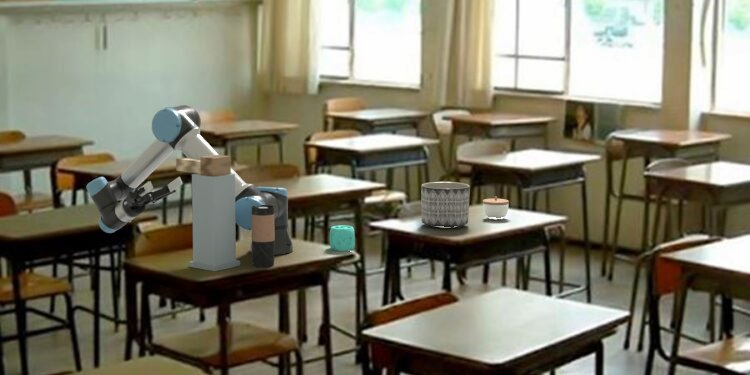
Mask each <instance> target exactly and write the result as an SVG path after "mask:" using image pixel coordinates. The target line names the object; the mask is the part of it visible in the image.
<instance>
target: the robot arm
mask: <svg viewBox="0 0 750 375" xmlns="http://www.w3.org/2000/svg"><path fill="white" fill-rule="evenodd" d="M201 120H202V119H201V116H200V114H199V112H198V111H197V109H195V108H193V107H192V106H190V105H186V104H184V105H178V106H173V107H172V106H171V107H170V106H169V107H164V108H162V109H160V110H158V111H157V112H156V113H155V114H154V115H153V118H152V120H151V131H152V134H153V136H154V137H155V138H156V139H155V140H154V141H152V143H151V144H150V145H148V146H147V147H146V148H145V150H144V151H142V153H140V155H138V157H136V159H134V160H133V161H132V162H131V163H130V164H129V165H128V166H127V167H126V168H125V170H123V171H122V172H121V174H119V175H118V176H117V177H116V178H115V179H114V180H111V181H108V180H107V179H106V178H105V177H104V176H99V177H97V178H95V179H93V180H92V181H90V182H88V183H87V185H86V190H87V192H88V193H89V197H90V198H91V200H92V201H93V204H94V205H95V206H96V208H97V209H98V212H99V214H100V217H99V218H98V225H99V228H100V229H101V231H103V232H105V233H108V234H112V233H115V232H116V231H118V230H120V229H122V228H123V227H124V226H125V225H127V224H128V223H131V222H132V220H134V219H135V218H137V217H138V216H140V215H141V214H143V213H144V211H145V209H146V206H147V205H149V204H151V203H152V204H155V203H157V202H158V201H160V200H162V199H165V198H166V197H168V196H170V195H172V194H174V193H176V192H177V191H176V190H177V189H178V188H179V187H181V186H182V185H183V184H184V183H183V181H182V179H181V176H178V177H177V178H175V179H174V180H172V181H171V182H168V183H167V185H166V186H164V187H162V188H160V189H157V190H154V191H152V190H153V189H154V186H153V184H152V181H151V180H150V181H149V180H148V181H147V182H146V183H145V184H143V185H142V186H140V185H141V184H142V183H143V182H144V181H145V180H146V179H147V178H148V177H149V176H150V175H151V174H152V173H153V172H154V171H155V170H156V169H157V168H158V167H160V165H162V163H163V162H164V161H165V160H167V159H168V157H170V156H171V154H173V152H182V153H183V154H184V156H186V158H187V159H196V160H200V157H204V156H212V155H220V154H219V153H218V152H217V151H216V150H215V149H214V148H213V147H212V146H211V145H210V143H209V142H207V140H206V139H205V138H204V137H203V136H202V135H201V124H202V123H201V122H202V121H201ZM231 174H235V224H236V225H237V226H238V227H240V228H241V229H243V230H245V231H252V206H255V207H259V206H261V205H272V206H274V234H275V244H274V256H277V255H285V254H286V253H287V254H290V253H292V252H293V251H294V250H293V249H294V247H293V246H294V244H293V241H292V238H291V235H290V232H289V230H288V229H289V227H288V226H289V225H288V223H289V221H288V220H289V211H288V209H289V205H288V204H289V196H288V189H287V188H285V187H272V186H256V185H254V184H253V183H247V182H246V181H245V180H244V179H242V177H241V176H240V175H238V173H237V172H236V171H235V170H234V169H233V168H232V167H231ZM139 186H140V187H139ZM138 187H139V188H138ZM136 188H138V189H136ZM249 252H250V253H252V240H251V242H250V245H249Z"/></svg>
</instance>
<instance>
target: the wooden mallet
mask: <svg viewBox="0 0 750 375" xmlns="http://www.w3.org/2000/svg"><path fill="white" fill-rule="evenodd" d="M231 159H232V157H231V155H224V154H219V155H212V156H204V157H200V160H196V159H188V158H187V157H186V158H185V157H181V158H175V169H176V170H175V171H177V172H185V173H190V174H191V173H193V174H199V173H200V174H201V175H205V176H213V177H214V176H221V175H228V174H231V168H232V166H231Z"/></svg>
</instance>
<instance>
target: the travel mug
mask: <svg viewBox="0 0 750 375" xmlns="http://www.w3.org/2000/svg"><path fill="white" fill-rule="evenodd" d="M251 241H252V252H251V257H252V266H253V267H255V268H271V267H273V266H275V255H274V244H275V234H274V206H272V205H261V206H259V207H255V206H252V230H251Z"/></svg>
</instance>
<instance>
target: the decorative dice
mask: <svg viewBox="0 0 750 375" xmlns="http://www.w3.org/2000/svg"><path fill="white" fill-rule="evenodd" d="M355 234H356V233H355V228H354V227H353V225H352V226H351V225H346V224H344V225H340V224H339V225H334V226H331V227H330V229H329V244H330V250H332V251H334V252H335V251H336V252H348V251H353V250H354V249H355V245H356V236H355Z"/></svg>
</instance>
